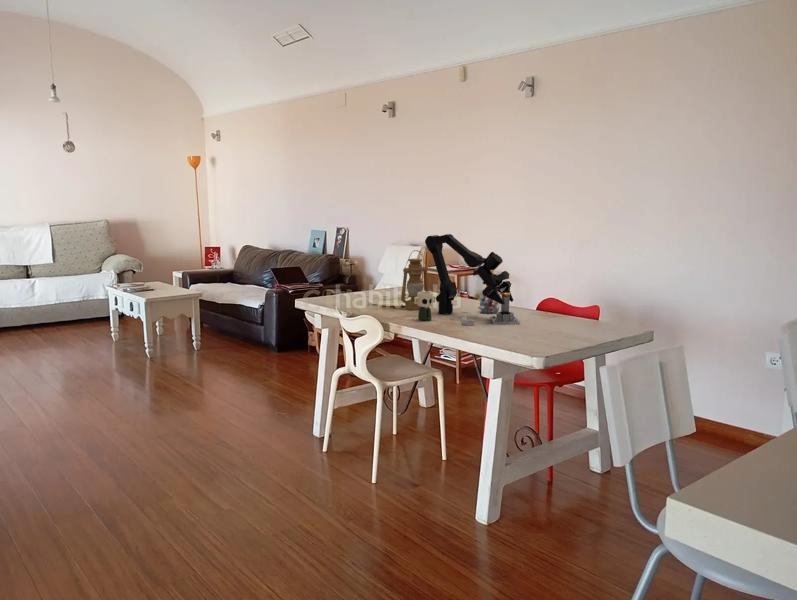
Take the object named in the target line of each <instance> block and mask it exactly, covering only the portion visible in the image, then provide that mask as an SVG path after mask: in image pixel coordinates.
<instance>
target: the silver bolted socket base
mask: <svg viewBox="0 0 797 600" xmlns="http://www.w3.org/2000/svg"><path fill="white" fill-rule="evenodd" d="M495 314H496V315H492V316H490V321H491V323H492V322H493V323H492V325H520V324H521V321H520V320H519V319H518V318H517V316H515V314H514V312H511V311H509V314H501V311H498V312H496V313H495Z"/></svg>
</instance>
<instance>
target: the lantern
mask: <svg viewBox="0 0 797 600" xmlns="http://www.w3.org/2000/svg"><path fill="white" fill-rule="evenodd" d="M413 252H418V253H419V254H420V255H421V256H422V258H423V259H422V258H411V256H412V254H413ZM408 262H409V264H408ZM421 262H423V263H424V265H425V266H423V264H422V263H421ZM407 265H408V266H407ZM406 266H407V267H406ZM402 270H403V277H402V278H403V279H402V287H401V295H400V300H401V301H400V302H402V303H404V309H405V310H407V311H419V309H420V306H418V305H417V304H415V303H414V298H415V297H417V293H418V292H430V290H429V279H428V270H429V267H427V264H426V262H425V258H424V256H423V254H422V252H421V251H420V250H412V251H411V253H410V255H409V257H408V258H407V261H406V264H405V266H404V268H403V269H402ZM422 274H423V278H424V279H423V280H424V281H423V280H422V279H421V278H422ZM408 277H409V278H408ZM407 279H408V280H407ZM406 290H407V294H406ZM423 290H424V291H423ZM406 296H407V297H408V298H410V299H408V300H406V299H405V298H406ZM416 302H417V299H416Z"/></svg>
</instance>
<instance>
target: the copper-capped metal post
mask: <svg viewBox="0 0 797 600" xmlns="http://www.w3.org/2000/svg"><path fill="white" fill-rule="evenodd" d="M510 292H511V291H510ZM510 292H501V294H500V295H501V299H502V300H503V302H504V304H503V305H502V304H500V305H501V306H500V308H501V309H500V312H501V314H509V312H510V301H509V300H510Z"/></svg>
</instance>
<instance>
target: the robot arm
mask: <svg viewBox="0 0 797 600" xmlns="http://www.w3.org/2000/svg"><path fill="white" fill-rule="evenodd" d="M424 243H425V246H426V248H427V250H428V251H429V252H430V254H431V256H432V259H433V261H434V264H435V269H436V271H437V275H438V278H439V283H440V284H439V293H438V294H437V295H436V296H435V302H437V303H438V311H437V312H438V315H453V312H454V311H453V308H454V304H453V302H452V301H454V300H455V298H456V297H457V294H458V288H457V283H456V281H452V280H451V279H450V276H449V275H450V274H449V272H448V269H447V264H446V261H445V258H444V254H443V247H444V246H443V244H447V246H449V247H450V248H451V249H453V250H454V251H455V252H456V253H457V254H458V255H460V257H462V258H463V260H464V263H465V264H466V265H467V266H468V267H469V268H476V269H473V270H472V271H473V273H472V276H474V277H475V276H478V277H479V279H481V280H482V284H483V285H486V287H485V288H484V289H483V290H481V291H482V292H481V293H482V295H484V297H485V298H490V300H491V299H492V300H493V301H494V302H495V301H496V302H498V304H500V305H501V304H502V305H503V304H504V302H503V300H502V296H500V295H501V292H510V300H509V302H511V303H513V301H514V298H513V296H512V293H511V287H512V283H511V281H510V280H509V279H510V273H509V272H508V271H507V270H504V271H501V273H499V274H496V273H493V272H492V271H495V270H496V269H497V268H498V267H499V266H500V265H501V264H502V263H503V258H502V257H501V256H500V255H499V254H497V253H495V252H494V251H492V252H490V253H489V254H488V255H487V256H486V258H485V257H483V256H482V255H481V254H479V253H477V252H475V251H472V250H471V249H469V248H468V247H467V246H465V245H464V244H463V243H462V242H460V241H459V240H458V239H456V238H455V237H454V235H453V234H451V233H447V234H444V235H443V234H442V235H438V234H435V235H434V234H433V235H428V236H427V237H425V240H424Z"/></svg>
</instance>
